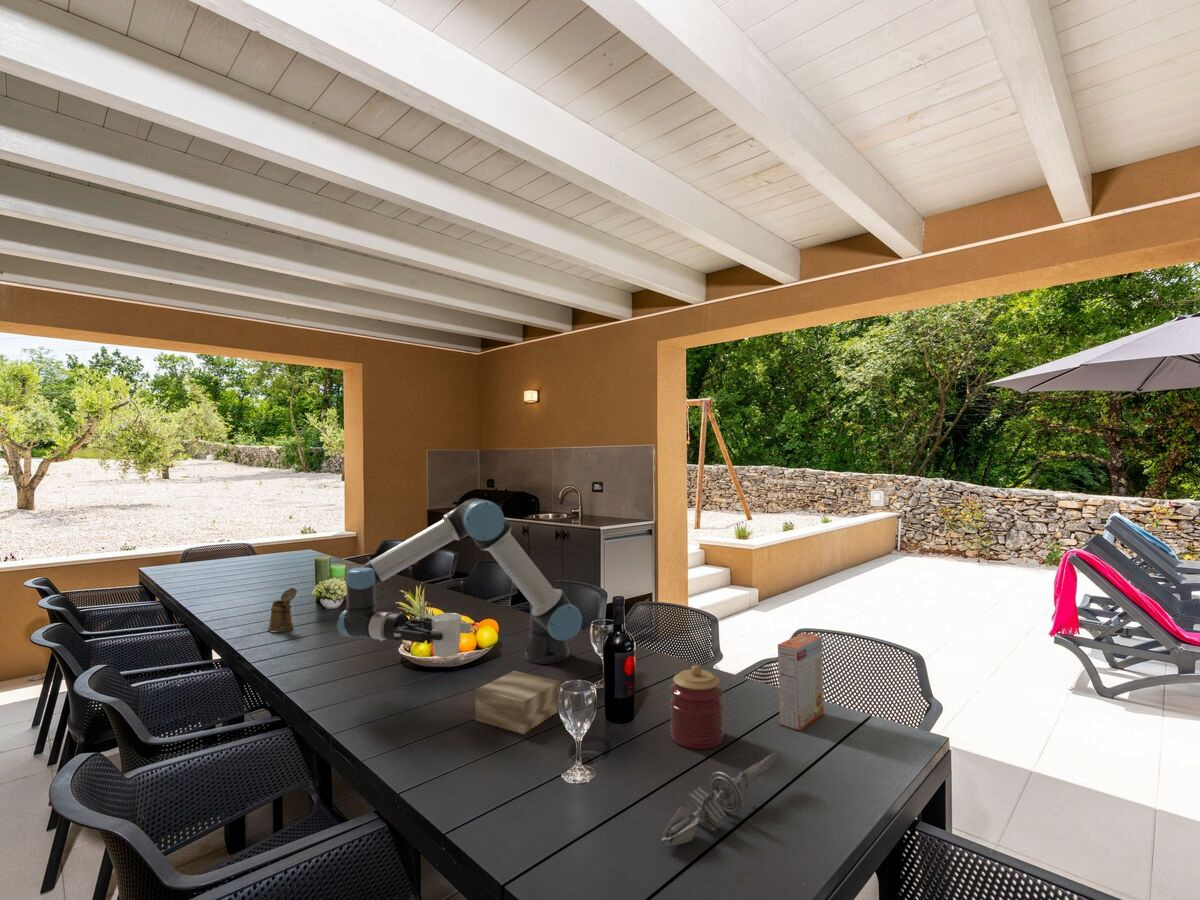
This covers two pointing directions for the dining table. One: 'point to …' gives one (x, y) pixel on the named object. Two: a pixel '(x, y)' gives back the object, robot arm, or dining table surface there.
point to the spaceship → (713, 802)
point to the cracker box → (800, 681)
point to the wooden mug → (282, 612)
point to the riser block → (516, 701)
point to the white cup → (447, 624)
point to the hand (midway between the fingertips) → (462, 632)
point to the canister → (696, 709)
